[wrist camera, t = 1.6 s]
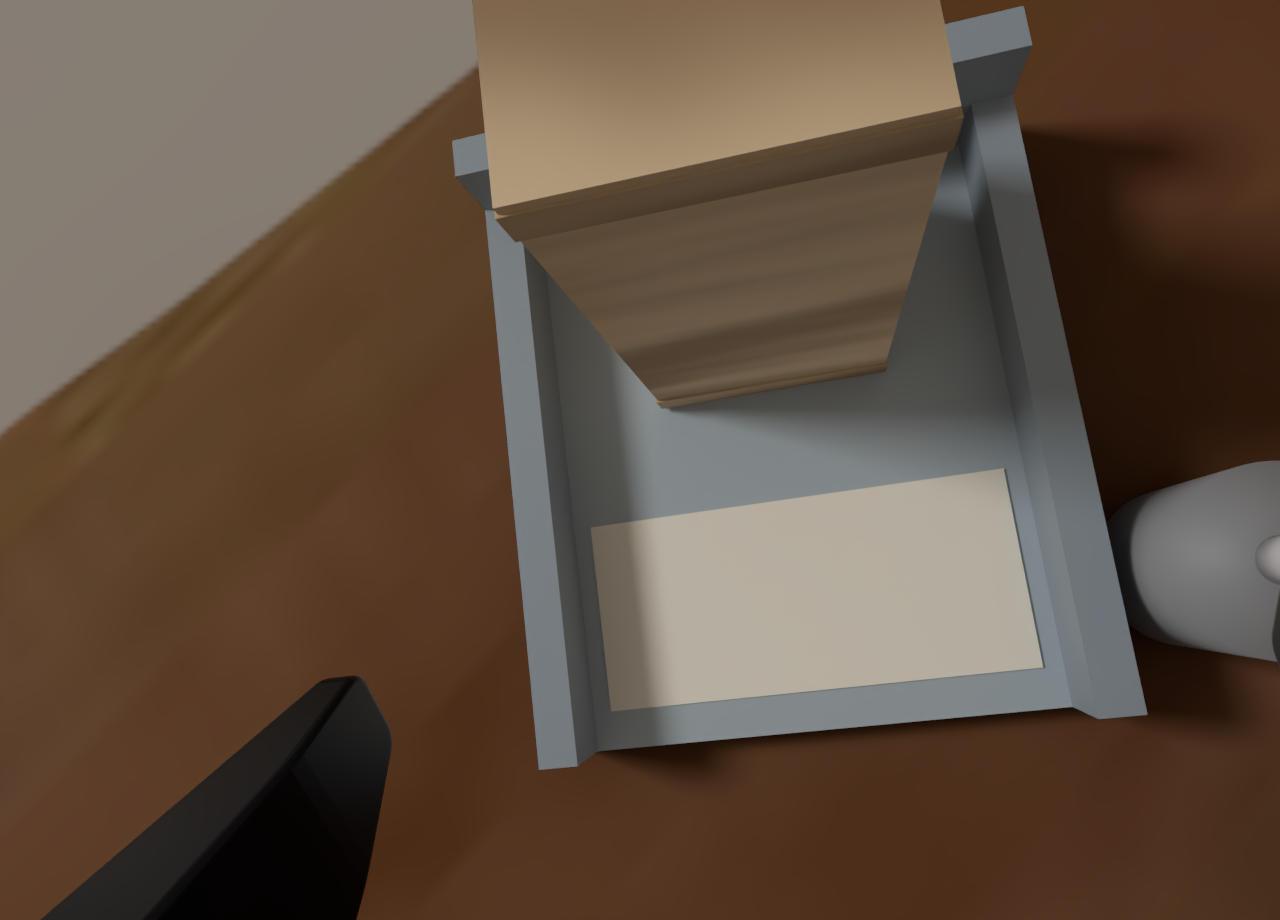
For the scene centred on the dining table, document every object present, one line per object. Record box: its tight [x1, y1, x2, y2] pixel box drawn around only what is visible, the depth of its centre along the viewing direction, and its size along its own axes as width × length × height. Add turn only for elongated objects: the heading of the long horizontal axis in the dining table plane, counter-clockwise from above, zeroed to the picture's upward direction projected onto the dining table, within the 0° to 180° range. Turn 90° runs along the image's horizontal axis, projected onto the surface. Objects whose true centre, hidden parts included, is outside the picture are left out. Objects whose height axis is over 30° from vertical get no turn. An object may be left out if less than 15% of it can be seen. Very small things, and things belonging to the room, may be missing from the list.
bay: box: [452, 6, 1280, 770], centre depth 21 cm, size 16×18×6 cm
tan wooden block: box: [472, 0, 964, 409], centre depth 18 cm, size 5×6×13 cm
